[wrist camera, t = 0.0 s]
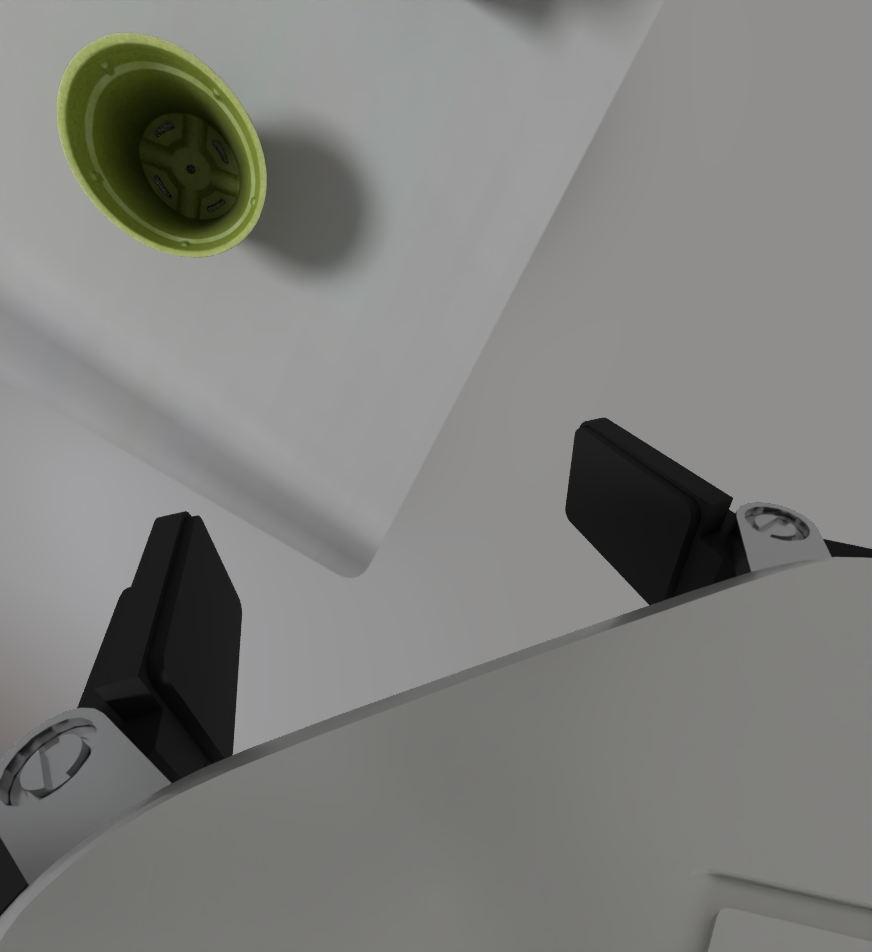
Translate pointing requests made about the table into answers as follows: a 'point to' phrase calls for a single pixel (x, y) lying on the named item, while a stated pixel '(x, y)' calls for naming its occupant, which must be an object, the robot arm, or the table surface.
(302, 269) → the table surface
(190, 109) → the plant pot
